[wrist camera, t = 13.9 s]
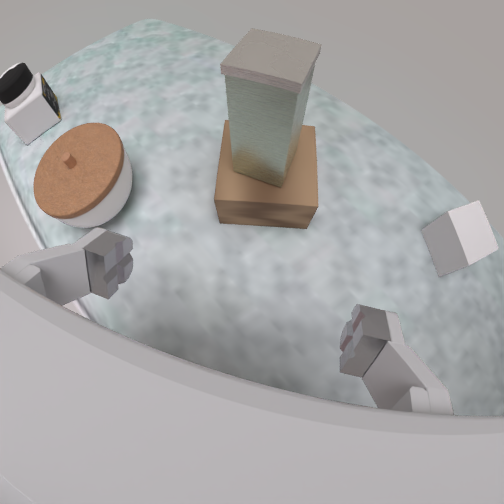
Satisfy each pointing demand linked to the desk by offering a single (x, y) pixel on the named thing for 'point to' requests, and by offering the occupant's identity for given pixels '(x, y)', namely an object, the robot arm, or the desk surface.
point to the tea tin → (267, 101)
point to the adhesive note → (459, 238)
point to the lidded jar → (84, 176)
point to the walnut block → (269, 189)
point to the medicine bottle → (28, 103)
